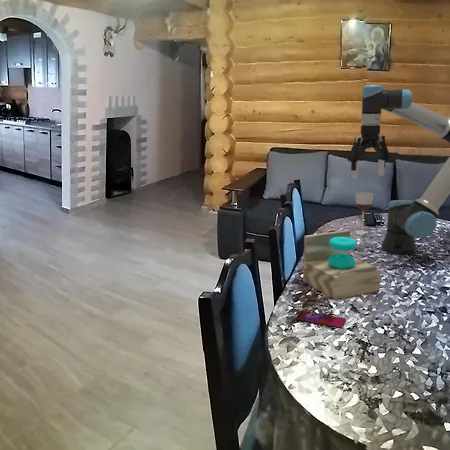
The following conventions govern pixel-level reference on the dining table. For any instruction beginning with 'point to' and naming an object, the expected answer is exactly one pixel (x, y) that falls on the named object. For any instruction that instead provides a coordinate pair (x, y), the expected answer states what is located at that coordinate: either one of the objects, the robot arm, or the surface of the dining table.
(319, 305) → the dining table surface
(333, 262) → the donuts
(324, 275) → the display stand
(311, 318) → the smartphone
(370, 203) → the wineglass
